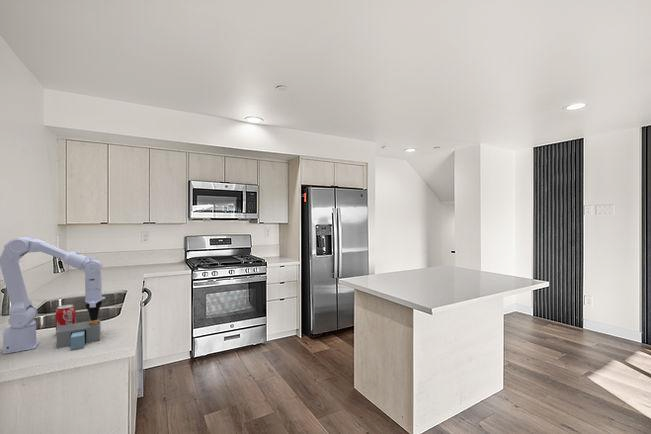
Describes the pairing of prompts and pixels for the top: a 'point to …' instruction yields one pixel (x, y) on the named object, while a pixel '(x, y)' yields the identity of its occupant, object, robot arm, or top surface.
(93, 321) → the plunger
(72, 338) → the block
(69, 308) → the soda can
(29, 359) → the top surface
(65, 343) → the housing
